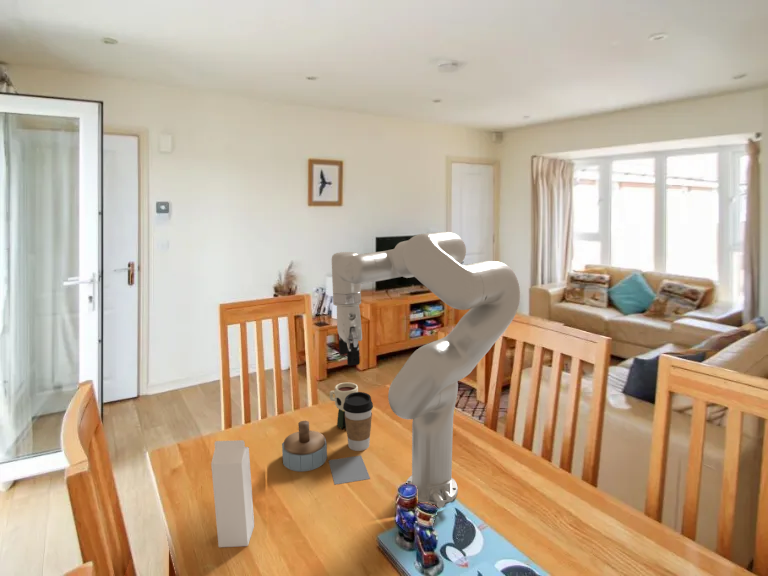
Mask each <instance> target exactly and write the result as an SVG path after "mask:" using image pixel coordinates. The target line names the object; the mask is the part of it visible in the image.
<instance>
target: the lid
mask: <svg viewBox="0 0 768 576" xmlns="http://www.w3.org/2000/svg"><path fill="white" fill-rule="evenodd" d="M297 426H298V431H296V432H293V433H290V434H289V435H288V436H286V437H285V439H284V441H283V442H284V448H285V450H286V451H287V452H289V453H292V454H296V455H306V454H311V453H314V452H317V451H319V450H320V449H321V448H322V447H323V446H324V444H325V440H326V437H325V435H324V434H322V433H321V432H319V431H316V430H310V421H308V420H300V421H299V422H298V425H297Z"/></svg>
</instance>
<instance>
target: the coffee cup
mask: <svg viewBox="0 0 768 576" xmlns="http://www.w3.org/2000/svg"><path fill="white" fill-rule="evenodd" d="M343 409H344V410H345V422H346V429H345V430H346V436H347V445H348V448H349V449H350V450H352V451H356V452H361V451H365V450H367V449H368V448H369V447H370V442H371V441H370V440H371V439H370V438H371V431H372V429H371V428H372V419H373V414H372V409H374V404H373V402H372V396H371V395H370V394H368V393H367V392H362V391H358V392H355V393H351V394H349V395H348V396H346V398H345V403H344V405H343Z"/></svg>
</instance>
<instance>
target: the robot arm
mask: <svg viewBox="0 0 768 576" xmlns="http://www.w3.org/2000/svg"><path fill="white" fill-rule="evenodd" d="M466 253H467V246H466V244H465V241H464V240H463V238H461V237H460V236H459V235H458V234H456V233H454V232H451V231H437V232H427V233H419V234H416V235H414V236H412V237H410V239H408V240H404V241H400V242H398V243H397V244H396V245H395V247H394V248H393V249H388V250H383V251H375V252H373V251H372V252H366V253H360V254H359V253H357V252H353V251H343V252H342V251H341V252H340V251H339V252H336V253H333V255H332V256H331V277H332V278H331V279H332V299H333V300H332V303H333V306H336V327H337V334H338V348H339V349H338V350H339V351H338V353H339V354H340V355H346V358H347V359H346V360H347V362H346V364H347V366H356V365H357V366H358V365H360V344H359V342H361V341H362V340H363V331H362V319H361V310H360V305H361V304H362V290H361V289H362V286H361V285H363V284H369V283H374V282H381V281H386V280H391V279H396V278H401V277H403V278H406V279H408V278H409V279H410V278H415V279H416V280H418V281H419V282H420V283H421V284H422V285H423V286H425V287H426V288H427V289H428V290H429V291H431V292H432V293H433V295H435V296H436V297H437V298H438V299H440V301H442V302H443V303H444V304H446V305H447V306H449V307H450V308H453V309H455V310H460V311H461V310H462V311H465V310H466V311H467V310H468V311H467V312H465V314H463V316H462V317H461V318H460V319H459V321H458V322H457V324H456V325H455V326H454V328H453V329H451V331H449V333H448V334H447V335H446V336H444V337H441V338H439V339H437V340H434V341H432V342H429V343H426V344H424V345H422V346H420V347H419V348H418V349H416V350H415V351H414V352H413V353H412V354H411V355H410V356H409V357H408V359H407V360H406V362H405V363H404V364H403V365H402V367H401V369H399V372H397V374H396V375H395V377H394V379H393V380H392V381H391V384H390V386H389V389H388V395H387V398H388V405H389V406H390V409H391V410H392V412H393V413H394V414H395V415H396V416H397V417H399V418H401V419H404V420H412V425H411V427H412V428H411V429H412V431H411V433H412V434H411V441H412V442H411V475H410V476H408V478H407V479H406V481H405V484H406V483H412V484H414V485H416V486H417V489H418V501H417V502H418V503H420V502H428V503H431V504H434V505H433V506H436V507H437V508H439V509H442V508H443V507H444V506H445V505H446V504H447V503H449V502H452V501H454V500H455V499H456V497H457V496H458V491H459V487H458V484H457V482H456V480H455V479H454V478H453V477H452V476H453V475H452V470H453V467H452V466H453V433H454V431H453V430H454V416H455V415H454V413H455V407H456V401H457V398H458V397H457V396H458V390H459V384H458V381H461V380H463V379H465V378H466V377H468V375H470V374H471V372H472V371H473V370H474V369H475V368H476V366H477V365H478V364H479V363H480V361H481V360H482V359H483V358H484V357H485V356H486V354H487V353H489V351H490V350H491V348H492V347H493V346H494V344H495V343H496V342H497V341H498V340H499V339H500V338H501V336H502V335H503V334H504V333H505V332H506V331H507V329H508V328H509V326H510V325H511V324H512V322H513V320H514V319H515V317H516V314H517V312H518V309H519V306H520V299H521V289H520V284H519V283H520V282H519V280H518V278H517V275H516V273H515V272H514V270H513V269H512V268H511V266H509V265H507V264H506V263H504V262H501V261H495V260H484V261H478V262H475V263H473V262H472V263H469V264H468V263H467V264H462V263H463V261H464V260H465V257H466Z"/></svg>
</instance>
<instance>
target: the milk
mask: <svg viewBox="0 0 768 576" xmlns="http://www.w3.org/2000/svg"><path fill="white" fill-rule="evenodd" d="M245 444H246V442H245V441H244V440H243V439H241V440H239V439H238V440H215V441H214V451H213V455H212V459H211V463H210V465H211V473H212V474H211V477H212V488H213V499H214V509H215V510H214V511H215V522H216V532H217V541H218V542H217V544H218V545H217V546H218V548H234V547H249V543H250V540H251V538H252V535H253V531H254V529H255V518H254V515H255V514H254V504H253V490H252V475H251V473H252V472H251V462H250V448H249V446H245Z"/></svg>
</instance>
